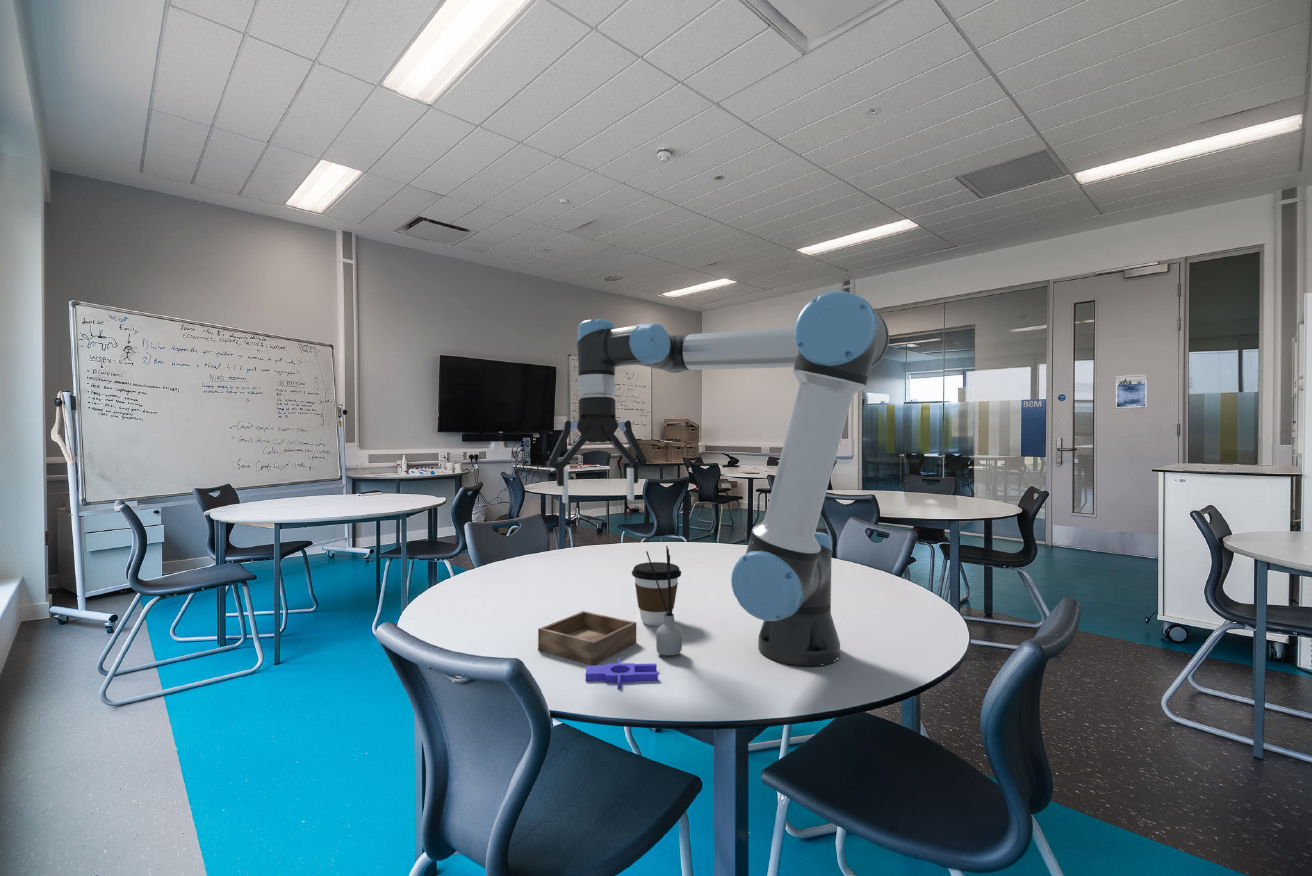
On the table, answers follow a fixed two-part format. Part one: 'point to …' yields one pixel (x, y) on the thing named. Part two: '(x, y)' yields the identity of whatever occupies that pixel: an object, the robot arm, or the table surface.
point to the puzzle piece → (629, 673)
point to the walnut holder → (587, 637)
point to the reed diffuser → (667, 622)
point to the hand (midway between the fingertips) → (598, 501)
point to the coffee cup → (654, 590)
